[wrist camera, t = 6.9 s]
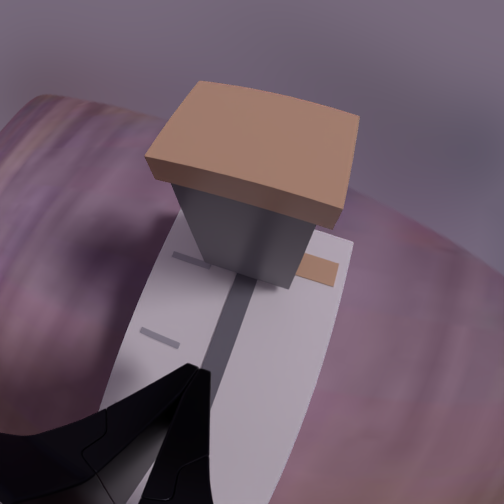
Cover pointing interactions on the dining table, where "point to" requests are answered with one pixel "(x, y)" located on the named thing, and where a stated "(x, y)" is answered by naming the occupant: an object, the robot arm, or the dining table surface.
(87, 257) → the dining table surface
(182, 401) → the robot arm
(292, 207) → the slider handle
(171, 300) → the dimmer panel
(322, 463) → the dining table surface
